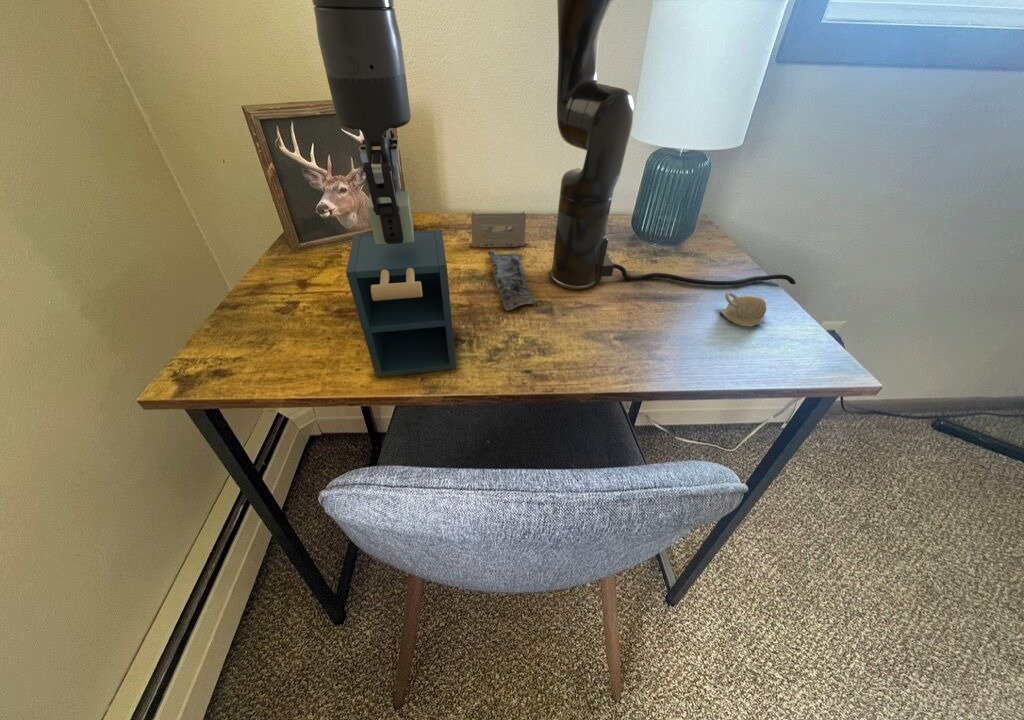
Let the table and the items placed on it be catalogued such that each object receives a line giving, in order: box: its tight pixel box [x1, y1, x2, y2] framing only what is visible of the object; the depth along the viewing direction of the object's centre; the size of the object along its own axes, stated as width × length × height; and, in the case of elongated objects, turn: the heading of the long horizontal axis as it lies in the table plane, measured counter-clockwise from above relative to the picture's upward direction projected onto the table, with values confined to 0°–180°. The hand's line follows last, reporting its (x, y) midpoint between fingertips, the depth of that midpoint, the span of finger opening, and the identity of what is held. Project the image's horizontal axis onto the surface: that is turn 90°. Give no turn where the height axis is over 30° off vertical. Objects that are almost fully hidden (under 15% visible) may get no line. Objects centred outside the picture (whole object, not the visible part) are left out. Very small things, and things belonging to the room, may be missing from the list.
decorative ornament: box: [720, 291, 767, 328], centre depth 72 cm, size 4×8×5 cm, turn 78°
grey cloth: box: [487, 250, 537, 312], centre depth 81 cm, size 21×7×2 cm, turn 9°
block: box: [367, 190, 415, 244], centre depth 50 cm, size 5×5×5 cm
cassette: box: [470, 211, 527, 248], centre depth 90 cm, size 12×2×8 cm, turn 95°
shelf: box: [345, 229, 457, 379], centre depth 57 cm, size 18×12×15 cm
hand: (395, 232), depth 51 cm, fingers closed on block, 4 cm apart
